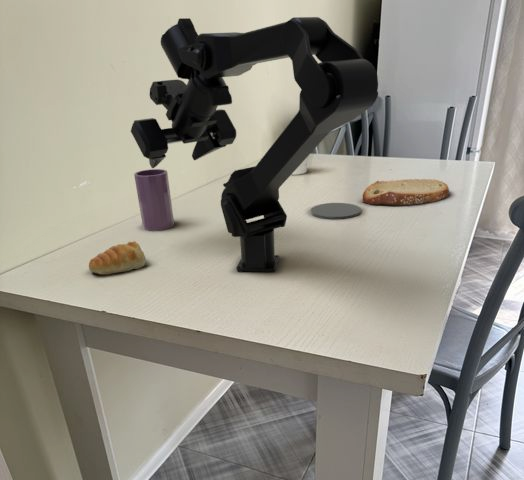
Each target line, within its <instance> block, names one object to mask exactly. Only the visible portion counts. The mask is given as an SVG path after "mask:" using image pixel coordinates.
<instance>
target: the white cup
mask: <svg viewBox="0 0 524 480" xmlns="http://www.w3.org/2000/svg"><path fill="white" fill-rule="evenodd" d="M308 157H309V156H308ZM308 157H307V158H306V159H305V160H304V161H303V162H302V163H301V164H300V165H299V167H298V168H297V169H296V170H295V171H294V172H293V173H292V174H291V175H290V176H298V175H304V174H306V173H307V171H308V170H307V169H308V168H307V166H308V160H309V159H308Z"/></svg>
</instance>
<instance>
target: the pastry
mask: <svg viewBox="0 0 524 480" xmlns="http://www.w3.org/2000/svg"><path fill="white" fill-rule="evenodd" d="M146 263H147V258H146V255H145V253H144V251H143V250H142V248H141V246H140V244H139V243H138V242H136V241H135V240H134V241H128V242H127V243H122V244H117V245H112V246H110V247H108V249H106V250H104V251H103V252H100V253H98V254H97V255H96V256H94V257H93V258H91V259H90V260H89V263H88V270H89V271H90V272H92V273H95V274H98V275H103V276H105V275H108V276H109V275H111V274H119V273H122V272H123V273H125V272H129V271H132V270H134V269H135V270H138V269H140V268H143V267H144V266H145V265H146Z"/></svg>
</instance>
